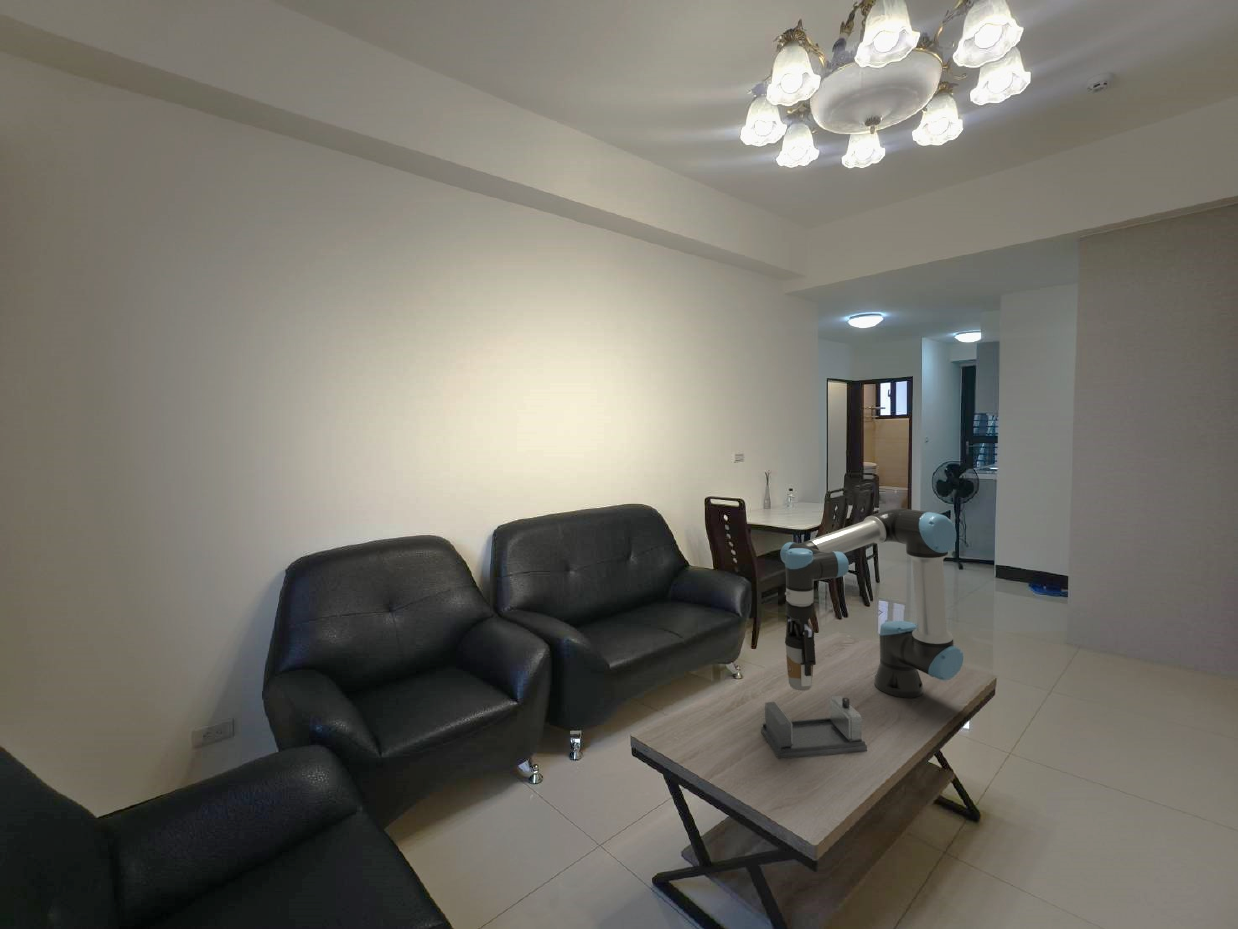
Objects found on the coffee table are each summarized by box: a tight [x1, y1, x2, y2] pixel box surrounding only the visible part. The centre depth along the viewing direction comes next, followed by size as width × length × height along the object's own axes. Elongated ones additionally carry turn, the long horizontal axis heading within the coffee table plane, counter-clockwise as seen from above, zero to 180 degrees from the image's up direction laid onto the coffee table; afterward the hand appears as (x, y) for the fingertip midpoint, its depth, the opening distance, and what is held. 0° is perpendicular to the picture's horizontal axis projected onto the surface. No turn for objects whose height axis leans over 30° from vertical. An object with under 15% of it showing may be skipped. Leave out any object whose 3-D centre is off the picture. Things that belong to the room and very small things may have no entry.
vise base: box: [760, 701, 868, 760], centre depth 159 cm, size 26×14×10 cm, turn 96°
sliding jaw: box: [829, 695, 863, 742], centre depth 160 cm, size 4×12×10 cm, turn 6°
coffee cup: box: [784, 632, 816, 692], centre depth 157 cm, size 8×8×15 cm
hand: (800, 678), depth 158 cm, fingers closed on coffee cup, 7 cm apart
